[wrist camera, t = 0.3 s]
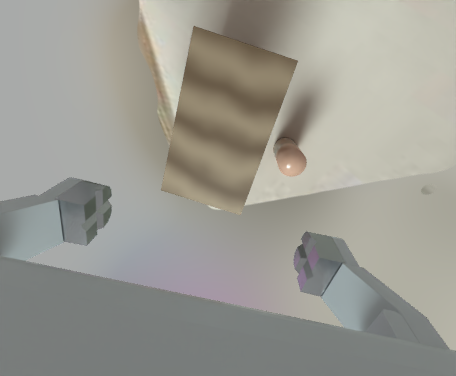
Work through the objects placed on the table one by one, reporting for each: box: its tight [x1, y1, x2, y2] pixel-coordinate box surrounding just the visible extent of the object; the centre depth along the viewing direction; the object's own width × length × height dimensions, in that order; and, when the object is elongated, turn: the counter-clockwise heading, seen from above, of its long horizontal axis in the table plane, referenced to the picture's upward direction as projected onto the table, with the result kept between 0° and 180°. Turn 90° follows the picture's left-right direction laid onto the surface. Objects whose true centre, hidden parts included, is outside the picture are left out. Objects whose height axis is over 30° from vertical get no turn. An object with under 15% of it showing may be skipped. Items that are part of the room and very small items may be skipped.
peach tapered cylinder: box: [273, 138, 307, 177], centre depth 50 cm, size 5×5×12 cm
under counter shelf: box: [161, 26, 298, 215], centre depth 44 cm, size 24×14×21 cm, turn 163°
